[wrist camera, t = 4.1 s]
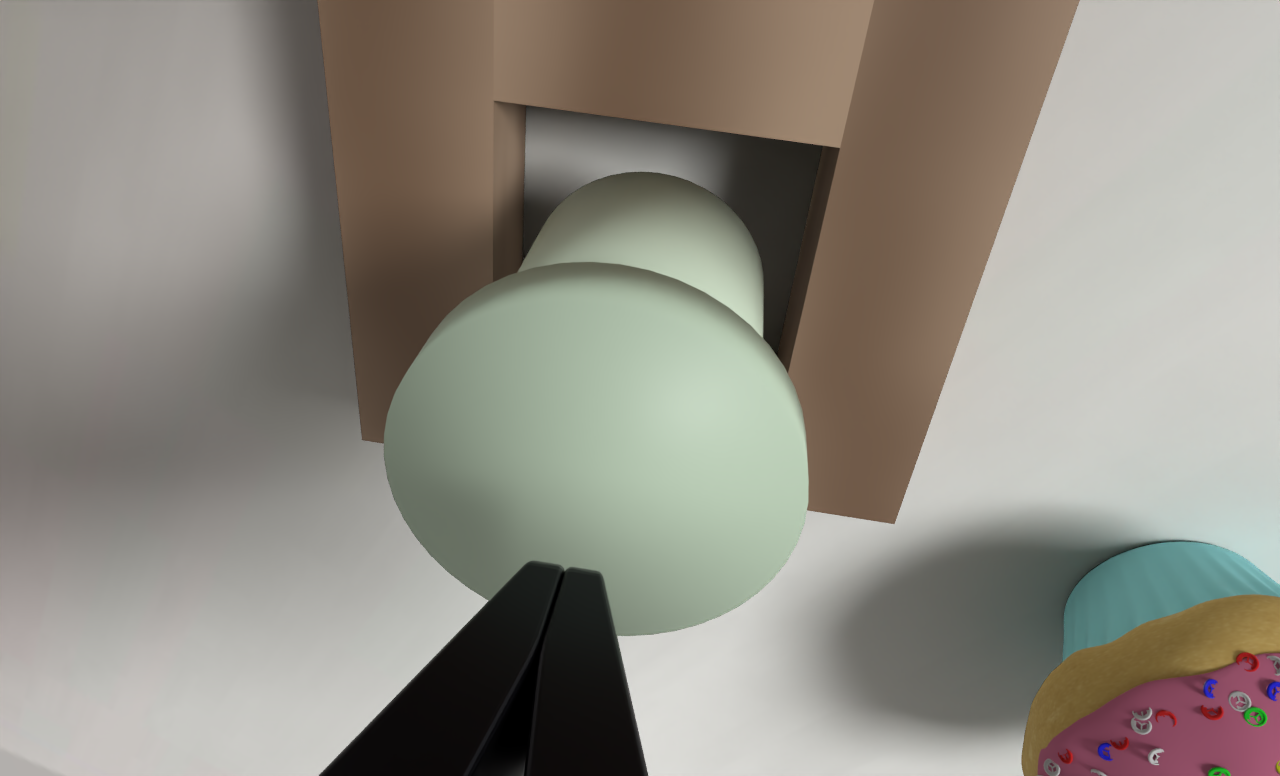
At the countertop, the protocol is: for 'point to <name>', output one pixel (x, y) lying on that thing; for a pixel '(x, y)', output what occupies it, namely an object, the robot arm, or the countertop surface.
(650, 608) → the sage plunger
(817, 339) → the panel
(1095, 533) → the countertop surface
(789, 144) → the countertop surface
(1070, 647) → the cupcake
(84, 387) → the countertop surface
